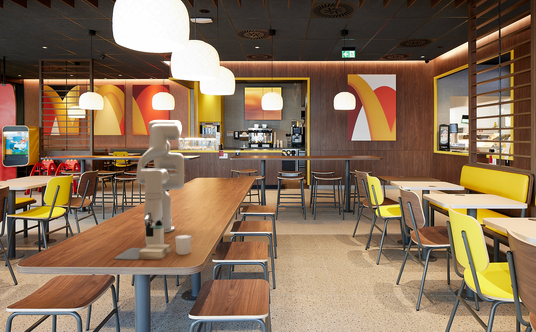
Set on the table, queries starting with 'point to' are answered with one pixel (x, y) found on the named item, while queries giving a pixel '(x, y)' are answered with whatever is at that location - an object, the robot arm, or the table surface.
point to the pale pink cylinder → (183, 244)
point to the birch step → (154, 251)
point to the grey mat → (129, 254)
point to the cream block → (155, 236)
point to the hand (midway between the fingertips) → (154, 233)
